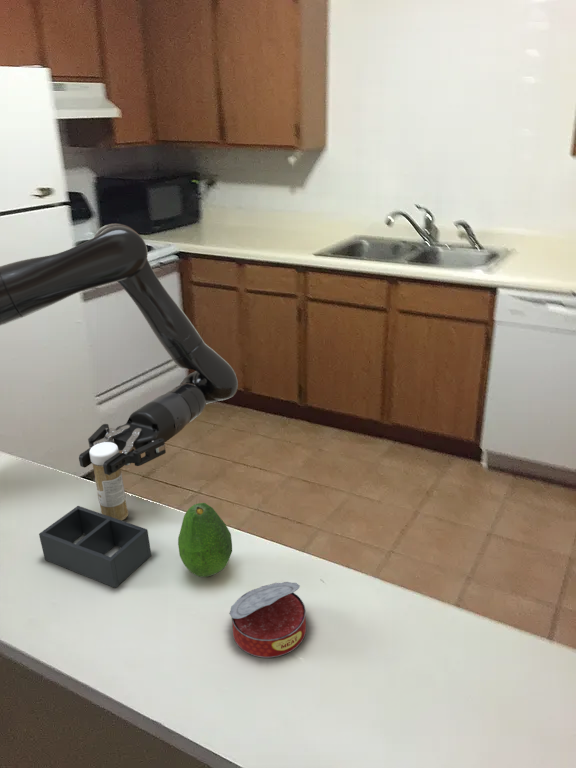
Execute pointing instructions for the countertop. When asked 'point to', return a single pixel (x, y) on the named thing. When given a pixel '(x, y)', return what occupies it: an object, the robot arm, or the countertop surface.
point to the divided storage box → (96, 545)
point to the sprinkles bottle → (108, 482)
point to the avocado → (204, 541)
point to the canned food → (269, 620)
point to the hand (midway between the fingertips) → (93, 465)
